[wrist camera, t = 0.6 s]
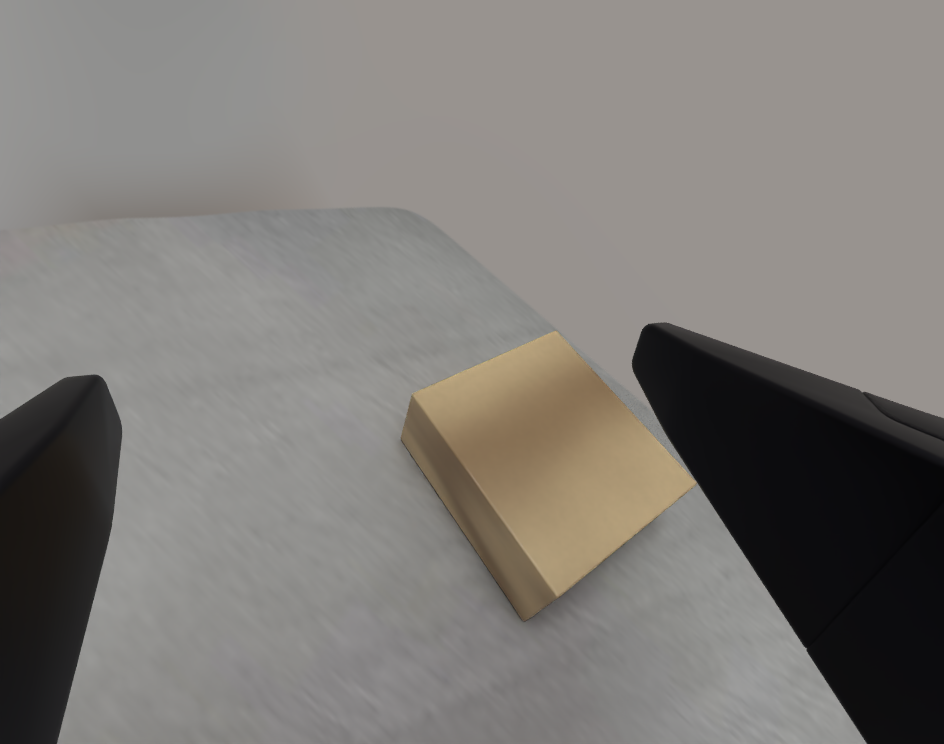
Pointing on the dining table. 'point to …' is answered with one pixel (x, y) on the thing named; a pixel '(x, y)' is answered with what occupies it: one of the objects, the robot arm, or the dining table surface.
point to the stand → (540, 467)
